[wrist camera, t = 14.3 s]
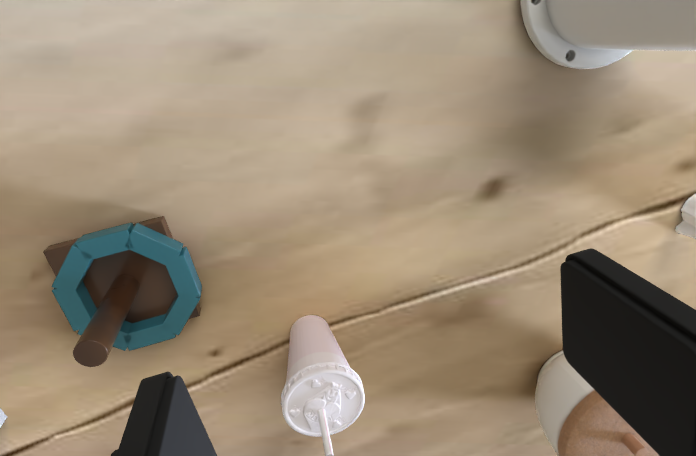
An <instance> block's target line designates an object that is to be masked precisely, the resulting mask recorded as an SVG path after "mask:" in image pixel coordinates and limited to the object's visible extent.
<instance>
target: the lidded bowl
mask: <svg viewBox="0 0 696 456" xmlns="http://www.w3.org/2000/svg"><path fill="white" fill-rule="evenodd" d="M535 408H536V413H537V417H538V420H539V423H540V425H541V428H542V430H543V432H544V434H545V436H546V438H547V439H548V441H549V443H550V444H551V446H552V447H553V449H554V450H555V452H556V453H557V454H558V456H660V455H659V454H658V453H657V452H656V451H655V450H654V449H653V448H652V447H651V446H650V445H649V444H648V443H647V442H646V441H645V440H644V439H643V438H642V437H641V436H640V435H639V434H638V433H637V432H636V431H635V430H634V429H633V428H632V427H631V426H630V425H629V424H628V423H627V422H626V421H625V420H624V419H623V418H622V417H621V416H620V415H619V414H618V413H617V412H616V411H615V410H614V409H613V408H612V407H611V406H610V405H609V404H608V403H607V402H606V401H605V400H604V399H603V398H602V397H601V396H600V395H599V394H598V393H597V392H596V391H595V390H594V389H593V388H592V387H591V386H590V385H589V384H588V383H587V382H586V381H585V380H584V379H583V378H582V377H581V376H580V375H579V374H578V373H577V371H576V370H575V369H574V368H573V367H572V366H571V365H570V364H569V363H568V362H567V360H566V358H565V356H564V353H563V350H562V351H560V352H558V353H556V354H555V355H553V356H552V357H551V358H550V359H549V360H547V362H546V363H545V364H544V365H543V367H542V368H541V370H540V372H539V375H538V379H537V387H536V392H535Z"/></svg>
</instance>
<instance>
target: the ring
mask: <svg viewBox="0 0 696 456" xmlns="http://www.w3.org/2000/svg"><path fill="white" fill-rule="evenodd" d="M182 247H183V243H180V242H178V241H176V240H174V239H172V238H169V237H167V236H165V235H163V234H161V233H159V232H156V231H154V230H152V229H150V228H148V227H145V226H143V225H141V224H139V223H136V225H135V226H134V225H133V223H127V224H123V225H120V226H116V227H112V228H108V229H104V230H101V231H97V232H93V233H89V234H85V235H83V236H82V237H81V238H78V240H77V241H76V242H75V243H74V244H73V245H72V246H71V248H70V250H69V252H68V254H67V256H66V258H65V260H64V262H63V264H62V266H61V269H60V271H59V273H58V275H57V277H56V279H55V281H54V283H53V285H52V287H54V289H53V290H52V292H53V294H54V296H55V297H56V299H57V301H58V303H59V305H60V307H61V308H62V310H63V312H64V314H65V316H66V317H67V319H68V321H69V323H70V325H71V327H72V328H73V330H74V331H76V330H79V331H78V334H79V335H82V334H83V332H84V330H85V329H86V327H87V325H88V324H89V322H90V320H91V318H92V317H93V315H94V313H95V312H96V310H97V308H96V306H95V304H94V302H93V300H92V298H91V296H90V294H89V292H88V290H87V288H86V286H85V284H84V282H83V279H84V277H85V275H86V273H87V271H88V269H89V268H90V266H91V264H92V262H93V260H94V259H97V258H100V257H104V256H108V255H111V254H115V253H119V252H123V251H126V250H131V251H133V252H136V253H138V254H140V255H143V256H145V257H147V258H150V259H152V260H154V261H157V262H159V263H161V264H163V265H166V268H167V270H168V272H169V275H170V277H171V279H172V282H173V284H174V287H175V289H176V291H177V295H176V297H175V299H174V300H173V302H172V304H171V306H170V307H169V309H168V311H167V313H166V314H163V315H160V316H156V317H153V318H149V319H146V320H142V321H139V322H135V323H130V322H128V321H125V320H124V322H123V325H122V327H121V329H120V331H119V333H118V335H117V338H116V340H115V342H114V344H113V347H115V348H118V349H121V350H124V351H125V350H126V349H127V347H128V349H129V351H131V350H134V349H138V348H141V347H145V346H148V345H152V344H155V343H159V342H162V341H165V340H169V339H172V338H175V337H176V335H179V334H180V332H181V331H182V329H183V327H184V326H185V324H186V322H187V321H188V319H189V317H190V315H191V314H192V312H193V310H194V309H195V307H196V305H197V304H198V302H199V300H200V296H201V291H202V290H201V289H202V285H201V282H200V280H199V277H198V275H197V272H196V270H195V267H194V265H193V262H192V260H191V257H190V254H189V252H188V249H187V247H183V248H182Z"/></svg>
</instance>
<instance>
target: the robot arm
mask: <svg viewBox="0 0 696 456" xmlns="http://www.w3.org/2000/svg"><path fill="white" fill-rule="evenodd" d="M521 11H522V16H523V22H524V25H525V27H526V30H527V32H528V35H529V37H530V39H531V40H532V42H533V43H534V45H535V47H536V48H537V49H538V50H539V51H540V52H541V53H542V54H543V55H544V56H545V57H546V58H548V59H549V60H551V61H552V62H554V63H556V64H558V65H561V66H564V67H567V68H575V69H595V68H599V67H603V66H607V65H609V64H611V63H613V62H615V61H618V60H620V59H621V58H623V57H624V56H625V55H627V54H628V53H630V52H631V51H633V50H664V51H696V0H532V2H531V0H521ZM565 56H566V57H565ZM561 301H562V338H563V353H564V356H565V358H566V360H567V362H568V363H569V364H570V365H571V366H572V367H573V368H574V369H575V370H576V371H577V373H578V374H579V375H580V376H581V377H582V378H583V379H584V380H585V381H586V382H587V383H588V384H589V385H590V386H591V387H592V388H593V389H594V390H595V391H596V392H597V393H598V394H599V395H600V396H601V397H602V398H603V399H604V400H605V401H606V402H607V403H608V404H609V405H610V406H611V407H612V408H613V409H614V410H615V411H616V412H617V413H618V414H619V415H620V416H621V417H622V418H623V419H624V420H625V421H626V422H627V423H628V424H629V425H630V426H631V427H632V428H633V429H634V430H635V431H636V432H637V433H638V434H639V435H640V436H641V437H642V438H643V439H644V440H645V441H646V442H647V443H648V444H649V445H650V446H651V447H652V448H653V449H654V450H655V451H656V452H657V453H658V454H659V455H660V456H696V310H695V309H693V308H691V307H690V306H688V305H686V304H685V303H683V302H681V301H680V300H678V299H676V298H675V297H673V296H671V295H670V294H668V293H666V292H665V291H663V290H661V289H660V288H658V287H656V286H655V285H653V284H652V283H650V282H648V281H647V280H645V279H643V278H642V277H640V276H638V275H637V274H635V273H633V272H632V271H630V270H628V269H627V268H625V267H623V266H622V265H620V264H618V263H617V262H615V261H613V260H612V259H610V258H608V257H607V256H605V255H603V254H602V253H600V252H598V251H597V250H594V249H587V250H583V251H580V252H576V253H573V254H570V255H568V256H567V257H566V260H565V262H564V263H562V265H561ZM111 456H217V454H216V452H215V450H214V448H213V445H212V443H211V441H210V439H209V437H208V434H207V432H206V430H205V428H204V426H203V423H202V421H201V419H200V417H199V415H198V412H197V410H196V408H195V406H194V404H193V401H192V399H191V397H190V395H189V392H188V390H187V388H186V386H185V384H184V381H183V379H182V378H181V377H180V376H175V377H173V375H172V374H171V373H170V372H165V373H162V374H158V375H155V376H152V377H148V378H145V379H143V380H142V381H141V383H140V386H139V389H138V392H137V395H136V398H135V401H134V404H133V407H132V410H131V413H130V416H129V419H128V422H127V425H126V428H125V431H124V434H123V437H122V440H121V443H120V446H119V449H118V450H115V451H114V452H113V453H112V454H111Z"/></svg>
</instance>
